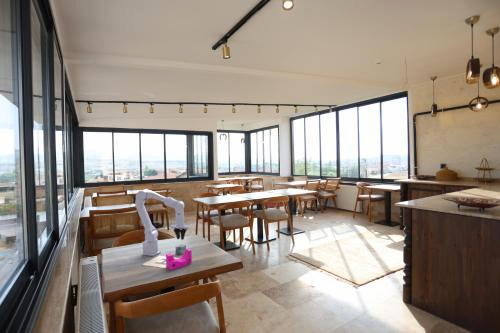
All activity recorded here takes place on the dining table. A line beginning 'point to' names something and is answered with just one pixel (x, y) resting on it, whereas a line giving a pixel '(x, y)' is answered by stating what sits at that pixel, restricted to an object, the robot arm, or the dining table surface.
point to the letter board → (157, 262)
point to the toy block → (178, 260)
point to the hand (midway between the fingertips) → (180, 239)
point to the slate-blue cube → (180, 249)
